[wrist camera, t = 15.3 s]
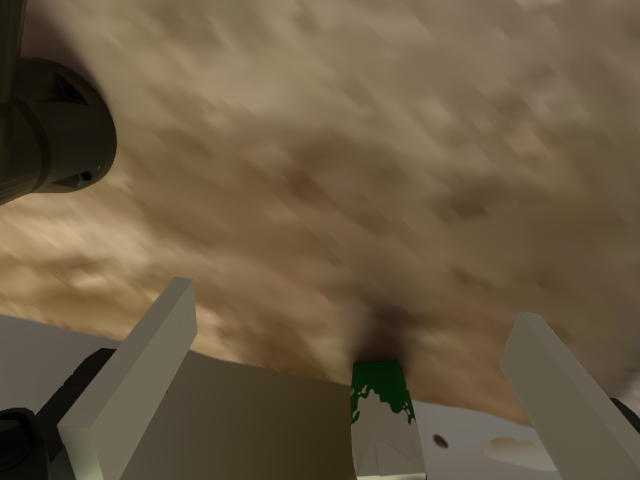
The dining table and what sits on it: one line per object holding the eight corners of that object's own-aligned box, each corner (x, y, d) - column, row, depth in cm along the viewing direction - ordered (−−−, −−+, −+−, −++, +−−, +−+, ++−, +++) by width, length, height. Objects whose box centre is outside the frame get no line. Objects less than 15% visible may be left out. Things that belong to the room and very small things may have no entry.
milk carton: (406, 394, 60) (437, 534, 41) (352, 398, 61) (359, 537, 42) (403, 354, 56) (435, 488, 38) (346, 359, 57) (350, 493, 39)
